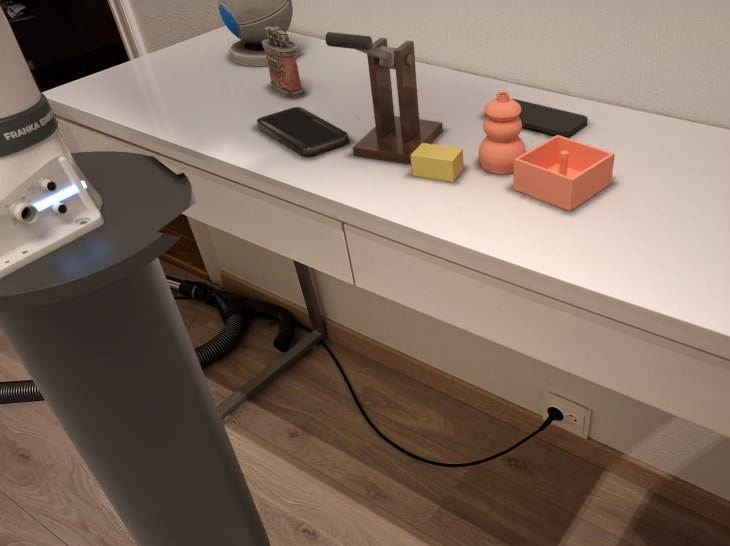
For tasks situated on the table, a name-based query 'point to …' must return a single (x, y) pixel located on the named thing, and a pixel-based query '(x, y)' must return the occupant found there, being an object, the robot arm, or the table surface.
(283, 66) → the lighter
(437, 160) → the butter block
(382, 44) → the brown wooden frame
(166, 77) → the table surface
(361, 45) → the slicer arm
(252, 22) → the webcam
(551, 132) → the phone
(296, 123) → the phone
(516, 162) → the pottery
